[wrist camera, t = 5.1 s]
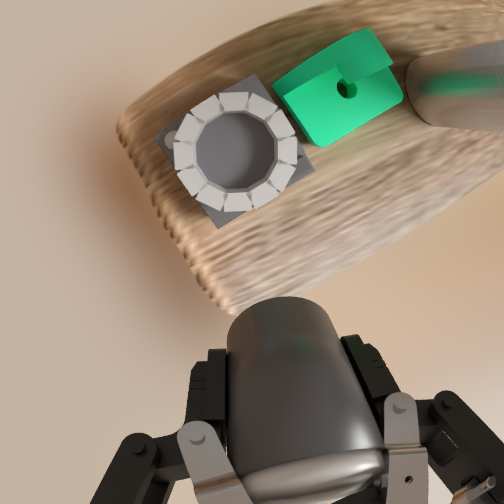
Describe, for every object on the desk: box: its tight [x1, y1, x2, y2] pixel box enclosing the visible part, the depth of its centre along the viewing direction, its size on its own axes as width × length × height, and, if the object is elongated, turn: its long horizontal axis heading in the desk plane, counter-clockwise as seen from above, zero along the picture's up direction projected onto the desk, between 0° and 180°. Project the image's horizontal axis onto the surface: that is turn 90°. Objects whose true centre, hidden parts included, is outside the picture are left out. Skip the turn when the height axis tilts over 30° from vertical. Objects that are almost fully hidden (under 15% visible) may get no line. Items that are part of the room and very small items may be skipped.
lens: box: [227, 296, 385, 504], centre depth 9 cm, size 5×5×8 cm
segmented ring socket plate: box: [154, 74, 315, 229], centre depth 23 cm, size 10×10×6 cm
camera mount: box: [271, 28, 403, 147], centre depth 19 cm, size 12×8×10 cm, turn 125°
